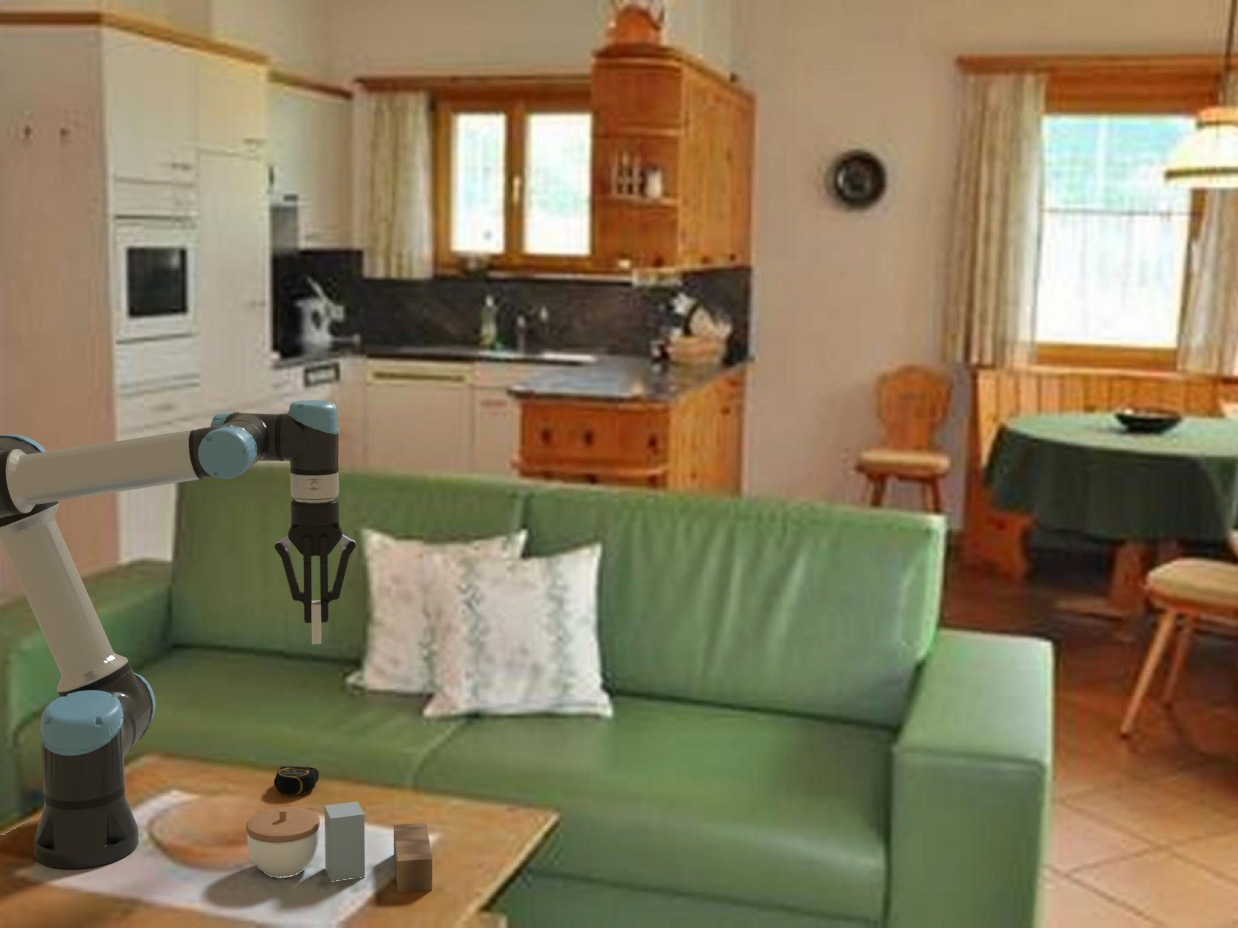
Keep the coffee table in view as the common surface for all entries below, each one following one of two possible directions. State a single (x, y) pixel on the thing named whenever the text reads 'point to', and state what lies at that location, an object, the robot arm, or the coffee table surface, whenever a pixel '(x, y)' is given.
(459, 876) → the coffee table surface
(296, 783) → the tape measure
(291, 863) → the lidded jar
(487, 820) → the coffee table surface
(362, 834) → the slate block
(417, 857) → the walnut block
